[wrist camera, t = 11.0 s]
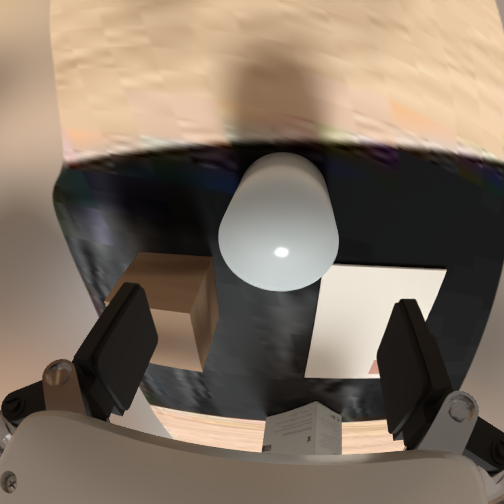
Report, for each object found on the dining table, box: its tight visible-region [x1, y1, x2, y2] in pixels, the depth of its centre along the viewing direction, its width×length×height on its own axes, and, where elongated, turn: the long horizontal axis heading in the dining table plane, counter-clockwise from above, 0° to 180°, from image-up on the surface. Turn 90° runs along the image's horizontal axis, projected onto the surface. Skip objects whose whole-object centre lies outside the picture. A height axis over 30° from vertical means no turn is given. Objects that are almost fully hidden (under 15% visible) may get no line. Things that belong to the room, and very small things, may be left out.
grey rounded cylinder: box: [219, 152, 339, 291], centre depth 16 cm, size 6×6×6 cm
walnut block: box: [104, 252, 219, 372], centre depth 22 cm, size 6×6×6 cm
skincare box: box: [262, 401, 342, 455], centre depth 28 cm, size 8×6×15 cm
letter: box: [305, 264, 446, 378], centre depth 24 cm, size 14×10×1 cm
